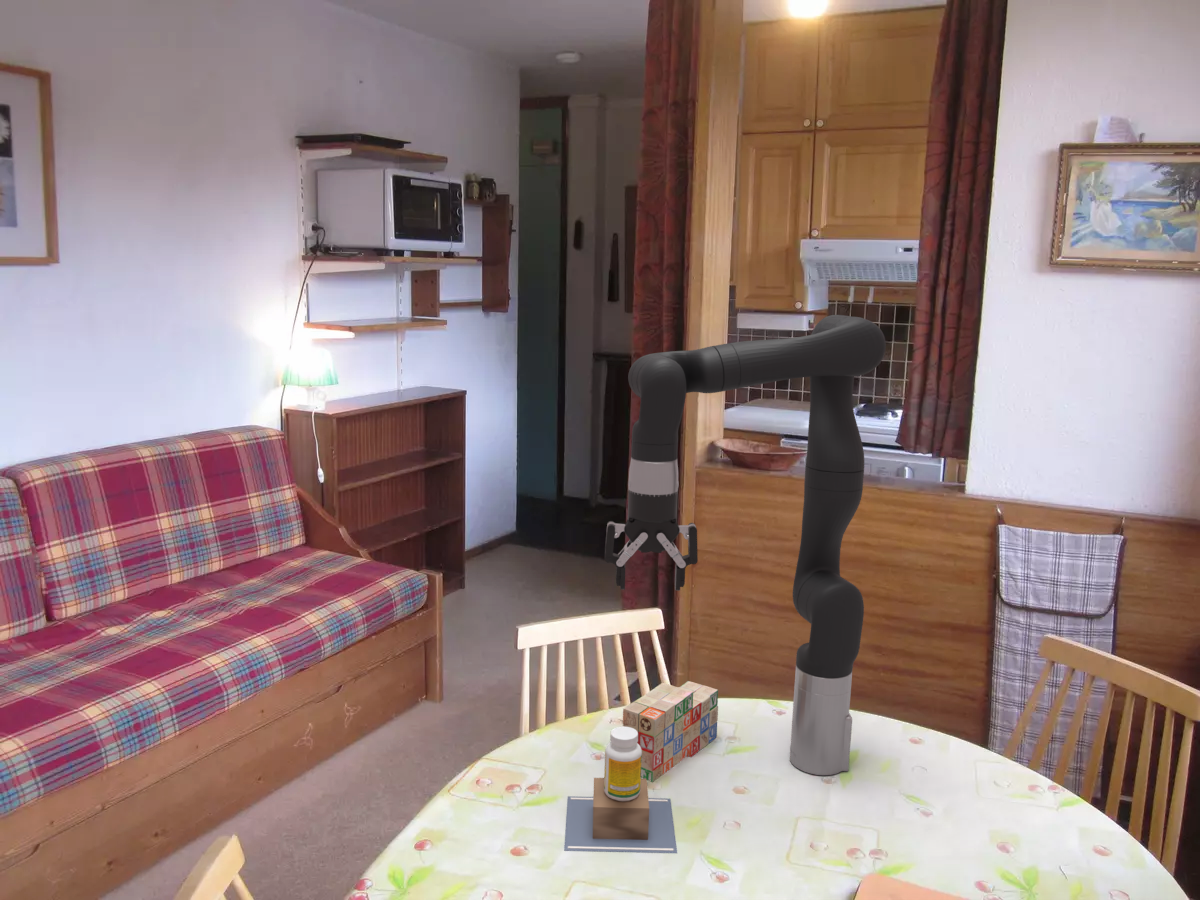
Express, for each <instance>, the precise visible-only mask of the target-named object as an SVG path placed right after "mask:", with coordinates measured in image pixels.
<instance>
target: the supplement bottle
mask: <svg viewBox="0 0 1200 900" xmlns="http://www.w3.org/2000/svg"><path fill="white" fill-rule="evenodd" d="M609 737H610V738H609V741H610V742H608V744H606V747H605V749H604V750H605V751H604V774H603V775H604V777H603V778H604V791H605V794H606V795H607V796H608V797H609V798H611V799H614V800H617V801H630V800H633V799H635V798H636V797H637V796H638V795H639V793H640V785H641V779H642V778H641V760H642V750H641V747H640V745H639V744H638V743H637V742H638V732H637V731H636V730H635V729H634V728H631V727H625V726H623V725H622V726H617V727H614V728H613V729H611V731H610V736H609Z"/></svg>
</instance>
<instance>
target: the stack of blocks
mask: <svg viewBox="0 0 1200 900" xmlns="http://www.w3.org/2000/svg"><path fill="white" fill-rule="evenodd" d="M718 699H719V689H717V688H713V687H711V686H707V685H703V684H701V683H696V682H693V681H689V680H687V681H686V682H685V683H683V684H682V685H680V686H679V687H677V686H674V685H671V684H668V683H666V682H662V683H660V684H658V685H657V686H656V687H654V688H653V689H651V690H650V691H648V692H647V693H645V694H644V695H642V696H641V697H639V698H638V699H636V700H634V701H633V702H631V703H629V704H628V705H626V706H625V707H623V708H622V709H623V710H622V726H625V727H631V728H634V729H635V730H636V731H637V732H638V742H637V743H638V744H639V745H640V747H641V750H642V760H641V779H647V781H650V782H651V783H653V782H655V781H656V780H658V779H659V778H660V777H661V776H663V775H664V774H665V773H667V771H670V770H671V769H672V768H673V767H675V766H677V764H679V763H680V762H681V761H683V759H685V758H692V757H693V756H694V755H696V754H697V753H698V752H699V751H701V750H702V749H704V748H705V747H706V746H708V745H709V744H710V743H712V742H713V740H716V738H717V736H718V721H719V720H718V719H719V718H718V716H719V706H718V704H719V703H718V702H719V700H718Z"/></svg>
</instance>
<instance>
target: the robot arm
mask: <svg viewBox="0 0 1200 900" xmlns="http://www.w3.org/2000/svg"><path fill="white" fill-rule="evenodd" d="M886 342H887V341H886V337H885V334H884V333H883V331H882V330H881V328H880V326H879V325H877V324H876V323H874V322H873V321H871V320H868V319H866V318H863V317H860V316H859V317H858V316H851V315H843V314H832V315H831V314H830V315H828V316H825V317H823V318H822V319H821V320H819V321H818V322H817V323H816V325H814V328H813V330H812V332H811V334H808V335H802V336H797V337H788V338H787V337H786V338H779V339H778V338H775V339H756V340H755V339H754V340H745V341H743V340H742V341H736V342H735V341H734V342H728V343H723V344H717V345H710V346H706V347H703V348H699V349H698V348H697V349H691V350H676V351H675V350H674V351H673V350H671V351H664V352H655V353H649V354H648V353H647V354H645V355H643V356H641V357H639V358H637V359H636V360H635V361H634V362H633V363H632V364H631V367H630V368H629V369H628V371H629V372H628V374H627V375H628V377H627V379H628V385H629V388H630V389H631V391H632V392H633V393H634V394H635V395H636V396H637V397H638V398H640V406H639V416H638V419H637V420H636V421H635V422H634V424H633V426H632V430H631V447H630V449H631V451H630V463H629V469H628V481H627V485H628V489H627V491H628V492H627V493H628V495H627V496H628V497H627V518H626V522H625V523H616V522H614V521H613V520H610V521H608V522H607V524H606V525H607V526H606V535H605V545H604V561H605V562H606V563H610V564H613V565H615V584H616V586H618V587H619V589H620V590H623V591H624V590H625V589H626V563H627V561H628V560H629V559H630V558H631V557H632V556H634V554H635V553H636V552H637V551H639V552H640V553H650V552H651V553H655V554H661V553H662V552H664V551H666V552H667V554H668V555H669V556H670V558H671V559H673V561H674V562H675V566H674V567H675V568H674V590H675V592H676V591H679V592H680V591H681V588H684V586H685V582H686V580H685V579H686V569H687V567H688V566H690V565H696V564H697V563H698V561H699V560H698V558H699V557H698V554H699V553H698V529H697V527H696V524H695V523H694V522H689V523H688V524H681V525H680V524H678V520H677V519H678V495H679V494H678V492H679V486H680V485H679V483H680V482H679V467H678V466H679V464H678V453H679V452H678V450H679V449H678V447H679V428H680V424H681V420H682V416H683V413H684V407H685V403H686V397H687V394H690V393H700V394H714V393H721V392H727V391H731V390H732V391H733V390H738V389H742V388H743V389H744V388H749V387H752V386H758V385H763V384H768V383H773V382H779V381H785V380H792V379H798V378H799V379H800V378H802V379H803V378H809V398H810V399H809V401H810V403H809V414H808V415H809V416H808V430H807V431H808V433H807V448H806V459H805V468H804V469H805V470H804V483H803V486H804V490H803V508H802V520H801V537H800V539H801V540H800V545H799V549H798V550H799V551H798V552H799V553H798V558H797V563H796V567H795V568H796V569H795V575H794V578H793V586H792V603H793V605H794V609H796V611H797V613H798V614H799V615H800V617H802V618H803V619H804V620H805V621H807V622H808V623H809V624H810V633H809V640H808V642H805V643H803V644H801V645H799V647H798V648H797V650H796V655H795V656H796V657H795V673H794V674H795V675H794V685H793V686H794V687H793V690H794V691H793V703H792V718H791V720H792V721H791V731H790V744H789V745H790V746H789V761H790V763H791V765H792V766H794V767H795V768H796V769H799V770H800V771H802V772H805V773H808V774H811V775H817V776H832V775H835V774H839V773H841V772H848V771H849V768H850V767H849V766H850V757H851V755H850V753H851V741H852V729H853V717H852V716H851V714H850V705H851V704H850V703H851V693H852V683H853V682H852V680H853V679H852V677H853V667H854V662H855V661H856V659H857V657H858V655H859V651H860V646H861V638H862V631H863V624H864V616H865V615H864V613H865V605H864V598H863V595H862V593H861V591H860V589H859V588H858V587H857V586H856V585H854V584H853V583H852V582H850V581H849V580H847V579H846V578H843V577H842V576H841V570H840V564H841V563H840V562H841V549H842V548H841V546H842V541H843V538H844V535H845V533H846V531H847V528H848V526H849V524H850V523H851V522H852V519H853V517H854V516H855V514H856V513H857V510H858V508H859V506H860V504H861V500H862V498H863V497H862V496H863V489H864V478H865V477H864V476H865V453H864V445H863V442H862V438H861V433H860V431H859V428H858V427H859V426H858V424H857V420H856V419H857V418H856V415H855V410H854V404H853V402H854V401H853V400H854V399H853V396H854V395H853V393H854V392H853V391H854V383H855V382H854V381H855V377H859V376H864V375H866V374H869V373H870V372H872V371H873V370H874V369H876V368H877V367H878V366H879V365H880V364H881V362H882V361H883V359H884V356H885V353H886V350H887V349H886V348H887V345H886ZM622 532H623V533H624V534H625V535H626V537H627V538H628V539H629V540H628V541H627V542H626V544H624V546H623V548H622V549H621V550H620V551H619V552H618V553H615V552H614V549H615V547H614V545H615V544H614V543H615V539H617V538H619V537H620V535H621V533H622ZM680 533H681V534H682V535H683V538H684V539H685V540H687V548H688V551H687V553H688V554H686V555H682V553H681V552H680V550H679V549H678V548H677V545H675V543H674V540H675V539H677V537H678V536H679V534H680Z"/></svg>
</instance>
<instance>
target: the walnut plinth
mask: <svg viewBox="0 0 1200 900" xmlns="http://www.w3.org/2000/svg"><path fill="white" fill-rule="evenodd" d="M592 797H593V839H631V840H648V828H649V800H648V798H649V791H648V780H647V779H644V778H641V785H640V793H639V795H638V796H637V797H636V798H635V799H633V800H630V801H617V800H614V799H611V798H609V797H608V796H607V795H606V794H605V791H604V777H593V796H592Z"/></svg>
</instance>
